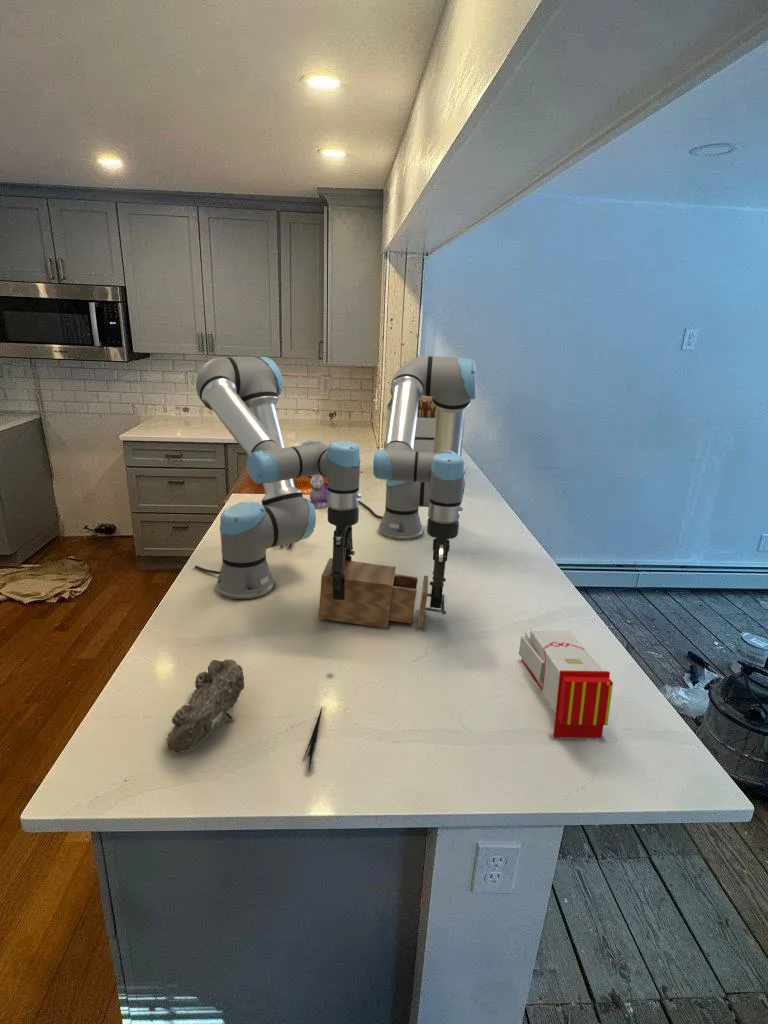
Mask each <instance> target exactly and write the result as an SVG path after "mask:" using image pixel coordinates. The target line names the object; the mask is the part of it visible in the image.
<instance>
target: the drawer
mask: <svg viewBox="0 0 768 1024" xmlns="http://www.w3.org/2000/svg"><path fill="white" fill-rule="evenodd" d="M418 579H419V577H418V576H413V575H412V576H410V575H405V574H396V573H395V577H394V582H393V588H392V597H391V605H390V613H389V621H392V622H397V623H399V622H400V623H404V624H405V623H406V624H413V619H414V611H415V605H416V598H417V597H416V596H417V587H418V586H417V585H418ZM428 592H429V575H423V578H422V587H421V592H420V600H419V607H418V620H417V628H418V629H423V628H424V623H425V622H424V620H425V614H426V612H432V613H438V614H441V615H443V616H445V615H446V614H447V595H446V594H443V593H442V601H441V608H431V607H426V606H427V601H428V598H429V597H430V598H431V593H428Z"/></svg>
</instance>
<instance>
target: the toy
mask: <svg viewBox="0 0 768 1024" xmlns="http://www.w3.org/2000/svg"><path fill="white" fill-rule="evenodd" d="M519 641H520V642H519V650H518V655H519V657H520V658H521V660H520V661H521V662H522V664H523V666H524V667H525V669H526V670H527V671H528V673H529V674H530V676H531V677H532V679H533V680H534V682H535V684H536V685H537V686H538V687H539V689H540V690H541V692H542V694H543V696H544V697H545V699H546V701H547V702H548V705H549V706H550V708H551V709H552V711H553V713H554V723H553V732H552V733H553V734H552V736H553V738H570V739H571V738H572V739H575V738H577V739H578V738H579V739H581V738H583V739H584V738H587V739H602V737H603V732H604V726H608V725H609V716H610V710H611V702H612V693H613V685H614V682H613V681H612V679H611V677H610V675H611V672H610V671H609V670H603V668H601V666H600V665H599V664H598V663H597V661H595V659H594V658H593V657H592V656H591V654H589V652H588V651H587V650H586V648H585V647H584V646H583V645H582V644H581V643H580V642H579V640H578V639H577V638H576V637H575V635H574V634H573V633H572V632H571V631H570V630H538V629H537V630H536V629H535V630H534V629H530V631H525V632H524V636H520V640H519Z"/></svg>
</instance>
